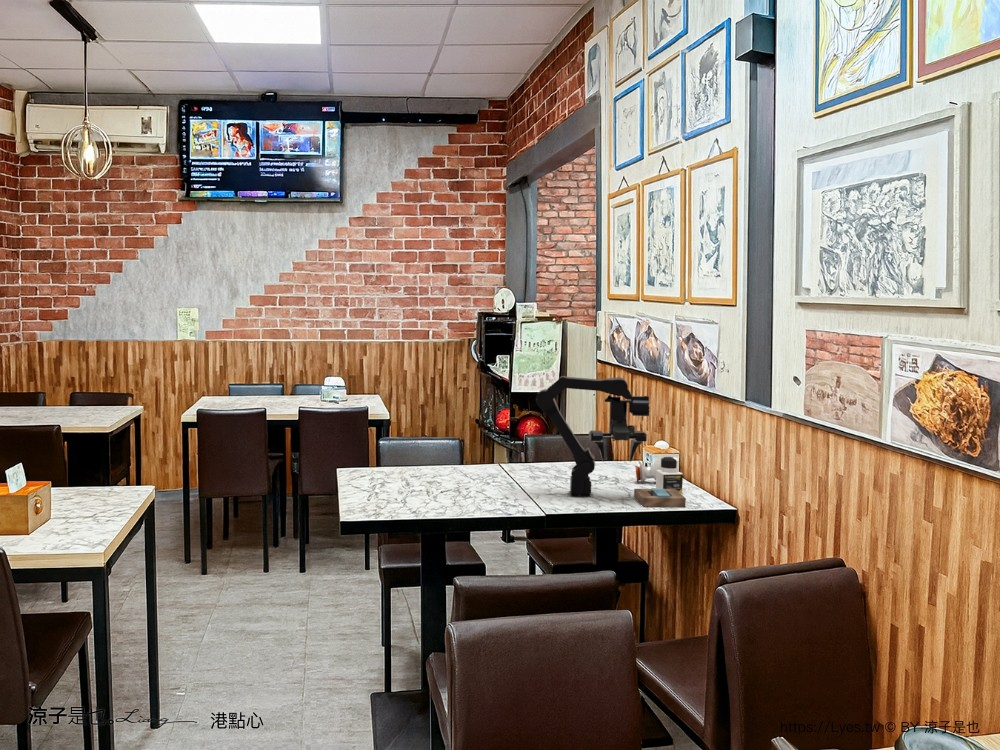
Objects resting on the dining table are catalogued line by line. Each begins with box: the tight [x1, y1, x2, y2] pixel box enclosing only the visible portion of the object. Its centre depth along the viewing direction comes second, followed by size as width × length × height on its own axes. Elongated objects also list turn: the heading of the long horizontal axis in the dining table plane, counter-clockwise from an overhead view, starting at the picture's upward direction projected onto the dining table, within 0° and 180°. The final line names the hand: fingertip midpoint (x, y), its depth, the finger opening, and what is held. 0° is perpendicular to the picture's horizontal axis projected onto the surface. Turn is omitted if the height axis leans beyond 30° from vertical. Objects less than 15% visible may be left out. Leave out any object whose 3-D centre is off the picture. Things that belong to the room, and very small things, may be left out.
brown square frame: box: [633, 488, 687, 508], centre depth 301 cm, size 14×14×3 cm
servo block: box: [650, 487, 670, 498], centre depth 301 cm, size 4×11×4 cm, turn 2°
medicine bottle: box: [655, 456, 684, 495], centre depth 317 cm, size 7×7×12 cm
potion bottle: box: [635, 457, 679, 483], centre depth 332 cm, size 9×10×15 cm
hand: (616, 461), depth 308 cm, fingers open, 9 cm apart
